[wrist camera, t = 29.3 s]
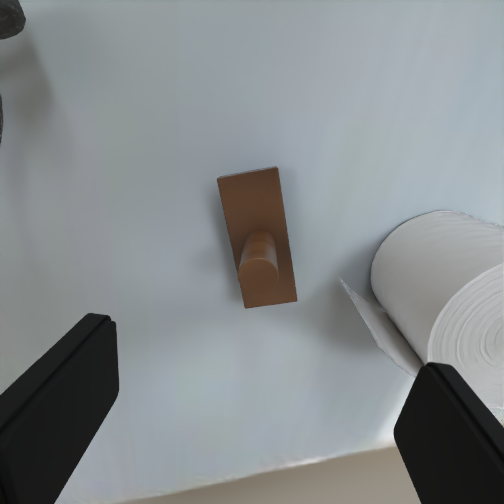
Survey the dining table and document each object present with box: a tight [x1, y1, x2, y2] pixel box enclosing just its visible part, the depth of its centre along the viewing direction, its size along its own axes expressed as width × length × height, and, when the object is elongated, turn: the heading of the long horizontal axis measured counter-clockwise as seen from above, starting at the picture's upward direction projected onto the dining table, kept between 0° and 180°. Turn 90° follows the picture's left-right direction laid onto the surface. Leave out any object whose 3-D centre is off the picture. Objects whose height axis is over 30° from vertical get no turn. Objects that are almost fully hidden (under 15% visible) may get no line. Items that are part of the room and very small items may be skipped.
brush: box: [217, 166, 297, 308], centre depth 21 cm, size 11×4×9 cm, turn 10°
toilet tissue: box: [339, 211, 504, 409], centre depth 21 cm, size 11×12×10 cm
